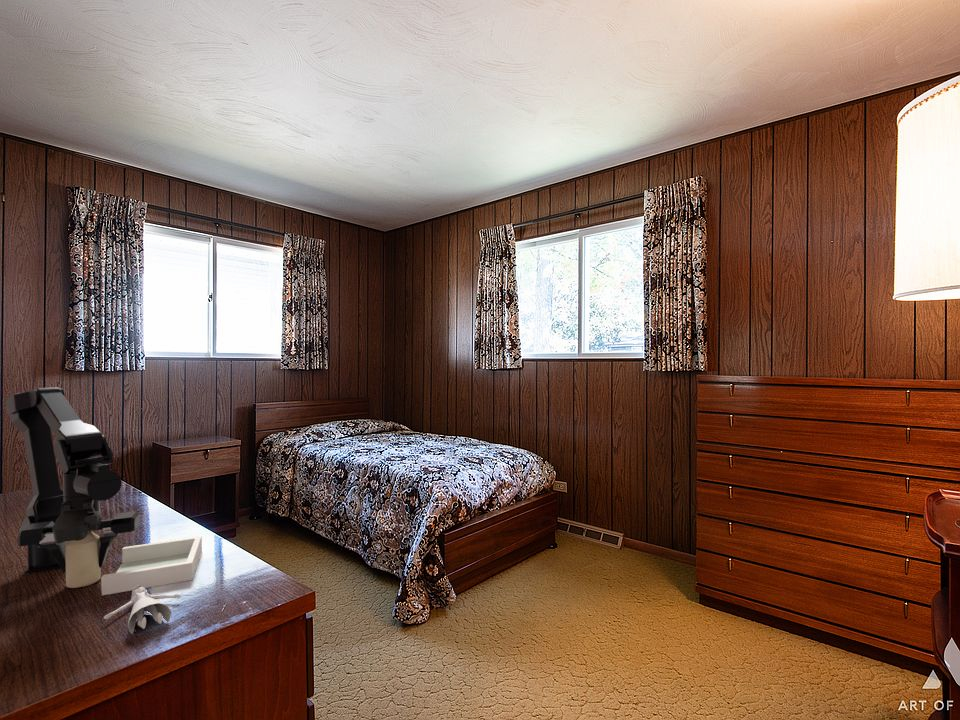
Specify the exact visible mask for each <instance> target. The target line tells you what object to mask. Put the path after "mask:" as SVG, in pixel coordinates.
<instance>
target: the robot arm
mask: <svg viewBox="0 0 960 720" xmlns="http://www.w3.org/2000/svg"><path fill="white" fill-rule="evenodd" d="M5 409H6V413H7V414H8V415H9V416H10V421H11V424H12V425H14V427H16V428H17V429H18V430H19V431H20V432H22V434H23V439H24V445H25V451H26V452H25V453H26V457H27V464H28V471H29V477H30V483H31V490H32V498H31V500H30V502H29V503H28V505H27V507H26V509H25V517H24V518H23V519H24V520H23V521H22V523H21V526H20V528H19V531H18V535H17V538H16V539H17V540H16V541H17V547H25V546H26V547H27V568H25V569H24V573H25V574H26V573H33V572H39V571H40V572H41V571H48V570H53V569H59V568H60V569H61V572H62V573H63V574H66V562H65V543H66V542H67V541H72V540H75V541H79V540H82V539H84V538H85V537H86V536H87V533H88V532H90V531H92V532H94V531H95V532H96V531H101V530H102V532H103V533H102V534H101V535H100V538H99V539H100V553H99V567H101V568H102V567H103V566H104V565H105V562H106V558H107V555H108V553H109V551H110V548H111V546H112V543H113V541H114V539H115V538H117V537H119V536H120V534H125V533H130V532H134V531H135V530H137V528H138V526H139V525H140V524H141V515H140V513H139V512H138V511H137V510H136V511H127V512H119V513H117V514H116V515H115V516H114V517H112V518H108V519H102V512H101V502H102V501H107V500H111V499H112V498H113V497H115V496H116V495H117V494H119V492H120V490H121V488H122V482H123V481H122V478H121V476H120V475H119V474H118V473H117V472H116V471H114V470H111V468H110V466H111V465H110V464H113V463H114V458H113V457H114V455H115V454H114V452H113V450H112V448H111V447H110V445H109V442H108V440H107V439H106V438H107V437H106V436H105V435H104V434H103V433H102V432H101V431H100V430H99V429H98V428H97V427H96V426H95V425H93V424H91V423H90V424H89V423H86V422H83V420H81V418H80V417H79V415H78V414H77V412H76V411H75V409H74V408H73V407H72V405H71V404H70V402H69V401H68V400H67V398H66V397H65V390H64V389H63V388H61V387H58V386H55V387H54V386H53V387H52V386H51V387H37V388H35V389H31V390H29V391H25V392H15V393H13V394H12V395H11V396H9V397H7V399H6V401H5ZM52 432H53V434H54V436H55V441H53V435H52ZM57 461H58V463H59V464H60V470H62V484H63V485H62V488H61V482H60V481H61V480H60V477H59V475H60V474H59V470H58V463H57Z"/></svg>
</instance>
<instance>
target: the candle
mask: <svg viewBox="0 0 960 720" xmlns="http://www.w3.org/2000/svg"><path fill="white" fill-rule="evenodd" d="M100 536H101V535H100ZM100 536H99V535H98V534H97V533H95V532H94V531H90V532H88V533H87V536H86V537H85V538H84V539H82V540H79V541H75V540H72V541H67V542H66V543H65V562H66V573H65V586H66V588H70V589H77V588H81V587H82V588H83V587H86V586H87V587H88V586H91V585H93V584H95V583H97V582H99V580H101V577H102V574H101V573H102V571H101V569H102V567H99V553H100V539H99V538H100Z"/></svg>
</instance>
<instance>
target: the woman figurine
mask: <svg viewBox="0 0 960 720" xmlns="http://www.w3.org/2000/svg"><path fill="white" fill-rule="evenodd" d="M131 591H132V592H131V597H130V600H129V601H128V602H127V603H125V604H124V605H122V606H120V607H118V608H117V609H115V610H114V611H112V612H110V613H108V614H105V616H103V619H104V620H108V619H109V618H111V617H113V616H114V615H115V614H117V613H119V612H122V611H124V610H126V609H127V608H129V607H131V606H132V609H131V611H130V612H131V613H130V615H129V618H128V621H127V628H128V631H129V633H130V634H132V635H134V634H133V630H134V625H135V622H136V619H137V618H138V622H137V626H138V627H139V628H141V629H145V628H146V625H147V618H146V617H145V616H144V617H143V614H144V611H148V612H150V613H151V614H152V615H153V616H152V618H153V620H154V622H156V623H158V624H160V625H161V624H162V623H163V622H162V616H163V618H164V619H165V620H166V621H167V623H169V622H170V620H171V615H172V610H171V609H170V607H169V606H168V605H167V604H165V603H164V602H162V601H160V600H163V599H180V598H182V595H181V594H179V593H178V594H177V593H176V594H167V595H166V594H158V595H157V594H155V595H154V594H150V593H148V589H147V588H143V586H142V587H141V585H139V586H137V587H135V588H134V589H133V590H131Z"/></svg>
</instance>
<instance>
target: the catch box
mask: <svg viewBox="0 0 960 720" xmlns="http://www.w3.org/2000/svg"><path fill="white" fill-rule="evenodd" d="M202 541H203V538H202V535H199V536H193V537H191V536H190V537H186V538H179V539H172V540H164V541H158V542H149V543H144V544H137V545H130V546H123V548H122V550H121V551H122V552H121V555H122V558H121V559H122V560H121V561H122V563H121V564H120V565H119V568H118V569H117V570H116V572H113V573H107V574H103V575H101V577H100V580H101V582H100V583H101V585H100V586H101V596H107V595H112V594H118V593H123V592H130V591H133V589H134V588H135V587H137V586H139V585H141V587H142V586H143V588H145V589H147V588H152V587H157V586H159V587H160V586H164V585H171V584H176V583H182V581H183V582H186V581H187V580H188V581H193V580H194V576H195V574H196V573H195V572H196V571H195V570H197V568H196V567H198V565H199V562H200V558H201V555H202V550H203V547H202V545H203V544H202V543H203V542H202ZM199 557H200V558H199ZM194 573H195V574H194ZM192 579H193V580H192ZM188 581H187V582H188Z"/></svg>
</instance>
